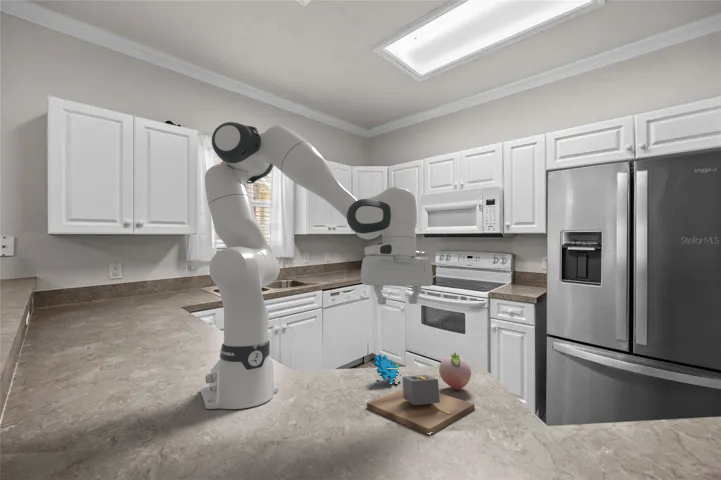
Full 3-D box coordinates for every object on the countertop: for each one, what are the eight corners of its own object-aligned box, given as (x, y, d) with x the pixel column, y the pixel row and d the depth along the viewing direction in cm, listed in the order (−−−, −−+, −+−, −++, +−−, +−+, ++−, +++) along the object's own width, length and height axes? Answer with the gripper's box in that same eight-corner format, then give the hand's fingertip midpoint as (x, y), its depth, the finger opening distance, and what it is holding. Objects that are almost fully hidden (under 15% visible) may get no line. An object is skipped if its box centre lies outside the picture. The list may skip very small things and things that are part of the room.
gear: (389, 384, 88) (371, 353, 94) (376, 397, 90) (359, 366, 96) (410, 380, 97) (392, 351, 103) (397, 391, 98) (380, 363, 104)
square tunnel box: (403, 398, 78) (402, 374, 79) (428, 396, 79) (426, 373, 81) (413, 405, 72) (411, 379, 73) (439, 402, 73) (437, 377, 75)
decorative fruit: (437, 383, 93) (436, 348, 94) (466, 384, 93) (464, 349, 94) (442, 396, 84) (441, 356, 85) (474, 396, 83) (473, 357, 84)
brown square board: (366, 408, 77) (366, 376, 77) (413, 389, 89) (413, 362, 90) (429, 435, 63) (428, 397, 64) (474, 409, 76) (473, 377, 76)
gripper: (423, 252, 90) (422, 302, 89) (358, 247, 81) (356, 303, 80) (438, 251, 85) (437, 304, 83) (370, 246, 76) (368, 305, 74)
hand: (397, 303), depth 82 cm, fingers open, 8 cm apart
